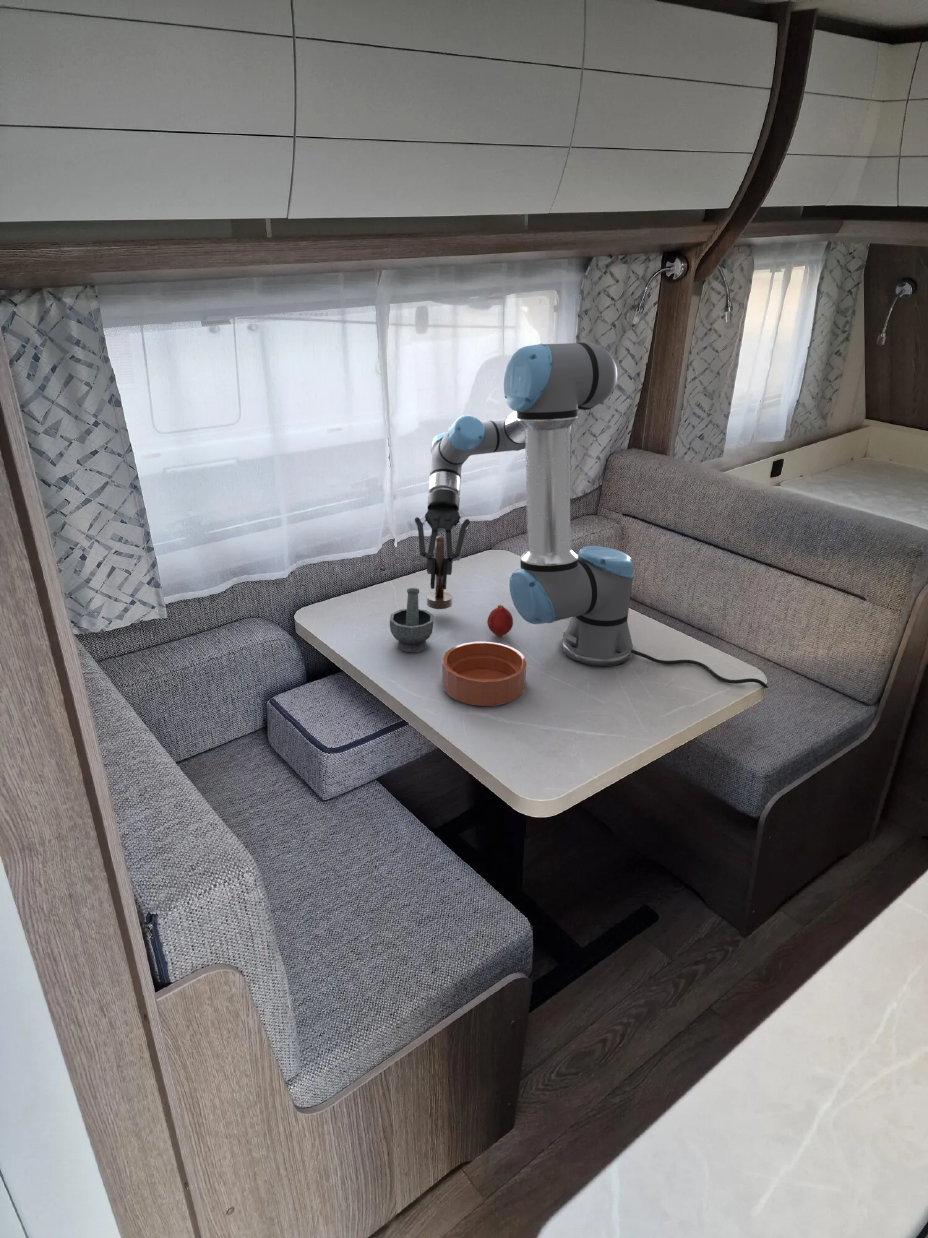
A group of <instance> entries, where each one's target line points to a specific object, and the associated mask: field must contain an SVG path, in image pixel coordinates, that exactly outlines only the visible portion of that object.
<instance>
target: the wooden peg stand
mask: <svg viewBox="0 0 928 1238" xmlns="http://www.w3.org/2000/svg"><path fill="white" fill-rule="evenodd" d="M434 558H435V588H434V591H431V592H429V593H428V594H427V595H426V605H427V607H428V608H431V609H433V610H446V609H448V608H451V607H452V605H453V595H452V594H451V593H450V592H447V591H445V589H443V587H442V580H443V564H444V559H445V538H444V537H443V536H442V535H438V536H437V537H436V541H435V553H434Z"/></svg>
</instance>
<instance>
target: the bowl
mask: <svg viewBox="0 0 928 1238" xmlns="http://www.w3.org/2000/svg"><path fill="white" fill-rule="evenodd" d="M441 659H442V661H441V663H442V664H441V683H442V684H441V686H442V689H443V690H444V692H445V693H446V695H447V696H449V697H450V698H452V699H454V700H455V701H458V702H461V703H463V704H467V705H473V706H479V707H489V706H490V707H491V706H494V707H495V706H499V705H505V704H509V703H511V702H512V701H515V700H517V699H518V698H520V696H522V694H524V692H525V688H526V684H527V683H526V680H527V666H528V663H527V659H526V656H525V655H524V654H523V653H522V652H521V651H520V650H518V649H516V648H514V647H512V646H510V645H507V644H503V643H500V642H493V641H470V642H464V643H460V644H458V645H455V646H452V647H451V648H450V649H448V650H447V651H446V652H445V653H444V655H443V656H442V658H441Z"/></svg>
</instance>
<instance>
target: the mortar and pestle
mask: <svg viewBox="0 0 928 1238" xmlns="http://www.w3.org/2000/svg"><path fill="white" fill-rule="evenodd" d="M406 593H407V602H406V608H402V609H399V610H396V611H395V612H393V613H390V616H389V629H390V633H391V634H392V636H393V637H394V639H396V640H397V641H398V644H397V648H398V649H399V650H401V651H402V652H406V653H417V652H422V651H423V650H425V649H426V645H427V642H426V641H427V640H429V638H431V635H432V634H433V629H434V621H435V620H434V619H435V616H434V614H433V613H431V612H429V610H427V609H421V608H420V607H419V594H420V589H419V588H417V587H408V588H407V589H406Z"/></svg>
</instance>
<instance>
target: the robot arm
mask: <svg viewBox="0 0 928 1238" xmlns="http://www.w3.org/2000/svg"><path fill="white" fill-rule="evenodd" d="M617 382H618V369H617V364H616V361H615V359H614V358H613V356H612V354H611V353H610V352H609V351H608V350H607V349H606V348H604V347H603V346H601V345H599V344H596V343H594V342H589V341H585V342H569V343H568V342H567V343H539V344H531V345H525V346H522V347H520V348H518V349H517V350H516V351H514V352H513V354H512V355H511V357H510V359H509V360H508V362H507V364H506V366H505V371H504V374H503V382H502V383H503V385H502V386H503V389H502V390H503V396H504V398H505V399H506V400H505V401H506V405H507V406H508V407H509V409H511V410H512V411H513V412H511V413H510V414H509V415H507V416H506V417H503V418H501V419H490V420H480V419H479V418H478V417H477V416H473V415H471V414H463V415H461V416H459V417H458V418H457V419H456V420H455V421H454V422H453V423H452V424H451V425H450V427H449V428H448V429H447V431H446V432H442V433H439V434H437V435H435V436H434V437H433V439H432V444H431V448H430V466H429V469H430V470H429V480H428V481H429V483H428V496H427V509H426V512H425V513H424V516H421V517H417V516H416V517H415V518H414V524H415V527H416V529H417V533H418V534H417V535H418V546H419V548H418V549H419V555H420V556H419V557H420V559H421V560H425V561H426V574H427V575H430V589H431V590H435V541H436V537H437V536H439V533H445V540H446V541H445V542H446V558H444V564H443V580H442V587H443V589H444V590H447V582H448V581H447V579H448V576H451V575H452V574H453V563H454V562H456V561H457V562H458V561H461V558H462V553H463V548H464V544H465V539H466V536H467V535H466V533H467V531H468V530H469V529H470V527H471V521H470V519H468V518H466V519H464V518H462V517H461V513H460V500H461V499H460V498H461V497H460V495H461V484H462V483H461V482H462V481H461V480H462V468H463V464H465V462H466V461H467V460H468V459H469V457H470V456H475V455H485V454H493V453H494V454H495V453H503V452H512V451H514V452H519V451H521V450H525V489H526V490H525V491H526V493H525V495H526V496H525V497H526V535H527V540H526V541H527V548H526V550H525V551H524V553H523V554H521V556H520V558H519V559H520V560H519V561H520V568H518V569H516V570H514V571H513V572H512V573H511V575H510V577H509V584H508V586H509V587H508V588H509V594H510V598H511V601H512V604H513V606H514V608H515V609H516V611H517V613H518V614H519V616H520V617H521V618H522V619H523V620H524V621H525V622H527V623H529V624H531V625H543V624H552V623H554V622H558V621H562V620H566V619H567V620H568V619H570V618H571V620H570V621H569V623H568V626H567V628H566V630H565V631H563V633H562V645H561V649H562V651H563V653H564V654H565V655H566V656H567V657H568V658H570V659H571V660H573V661H575V662H577V663H581V664H584V665H588V666H594V667H612V666H617V665H622V664H623V663H626V662H627V661H629V660H630V659H631V657H632V656H633V655H636V656H639V657H642V658H644V659H647V660H649V661H651V662H653V663H656V664H662V665H679V664H689V665H696V666H698V667H701V668H703V669H704V670H705V671H706V672H708V673H709V674H710V675H711V676H712V677H714V678H715V679H717V680H718V681H720V682H723V683H725V684H733V685H734V684H735V685H738V684H747V683H756V684H759V685H760V686H762V687H763V688H765V689H768V688H769V686H768V685H767V684H766V683H765V682H764V681H763V680H760V679H759V678H755V677H753V678H752V677H751V678H750V677H749V678H740V679H729V678H726V677H723V676H720V675H719V674H718V673H716V672H715V671H714V670H713V669H711V667H709V666H708V665H706V664H705V663H703V662H701V661H697V660H693V659H674V660H673V659H672V660H665V659H664V660H663V659H659V658H655V657H653V656H651V655H648V654H646V653H644V652H641V651H639V650H636V649H633V648H634V645H633V640H632V635H631V632H630V627H629V623H628V619H629V618H628V617H629V610H630V609H629V608H630V603H631V594H632V587H633V581H634V561H633V559H632V557H631V556H630V555H628V554H627V553H625V552H623V551H621V550H618V549H615V548H611V547H606V546H598V545H586V546H582V547H580V549H579V551H578V553H576V552H575V551H574V550H573V549H572V547H571V426H572V425H573V424H574V423H575V421H576V420H577V419H578V418H579V417H578V416H579V411H589V410H592V409H594V408H595V407H597V406H598V405H600V404H602V403H603V402H604V401H606V400H607V399H608V398H609V397H610V396H611V395H612V393H613V392H614V390H615V387H616V386H617ZM426 523H427V524H428V526H429V527H430V529H431V534H430V539H429V544H428V550H427V552H426V544H425V531H424V527H425V526H426ZM458 524H459V533H458V538H457V542H456V547H455V552H454V553H453V542H452V540H453V538H452V531H453V530H454V529H455V527H457V525H458Z"/></svg>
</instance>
